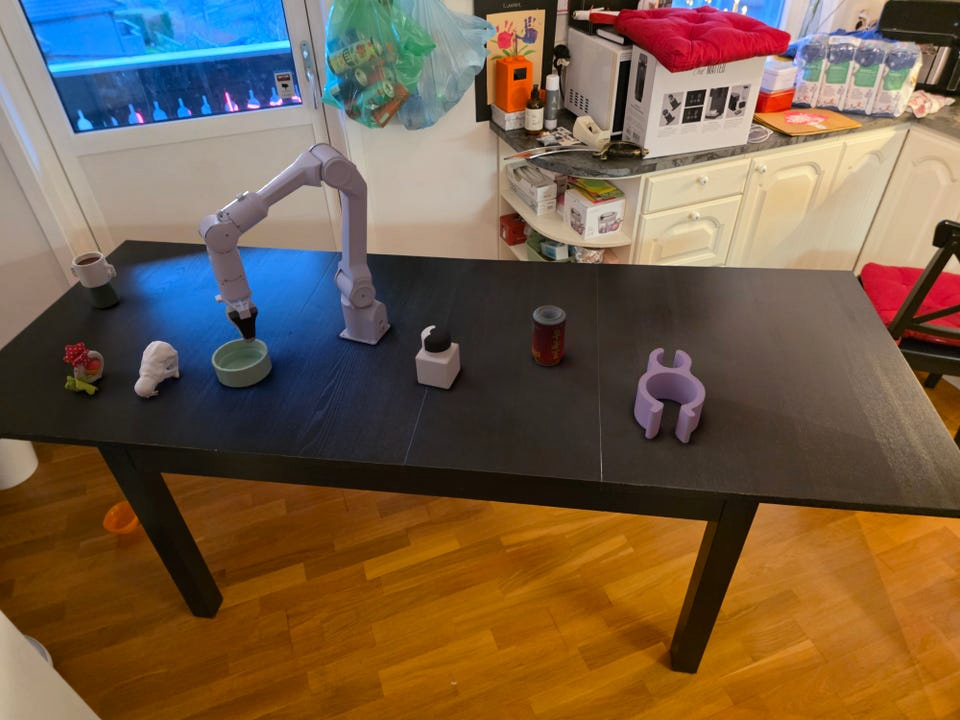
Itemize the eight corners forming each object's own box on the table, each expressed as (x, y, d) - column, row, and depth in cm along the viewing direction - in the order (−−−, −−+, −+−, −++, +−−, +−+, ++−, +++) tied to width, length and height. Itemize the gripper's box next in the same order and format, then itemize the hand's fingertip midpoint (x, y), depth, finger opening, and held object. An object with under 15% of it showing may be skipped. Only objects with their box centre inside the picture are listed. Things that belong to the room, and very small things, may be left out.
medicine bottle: (460, 369, 144) (458, 324, 136) (448, 390, 138) (445, 344, 131) (430, 363, 146) (426, 318, 138) (417, 383, 140) (412, 338, 133)
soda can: (547, 344, 150) (550, 299, 142) (570, 358, 146) (573, 313, 138) (524, 356, 147) (525, 311, 139) (546, 372, 142) (549, 326, 135)
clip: (635, 371, 142) (639, 345, 137) (695, 377, 140) (701, 351, 135) (633, 436, 126) (638, 410, 122) (700, 444, 124) (707, 418, 120)
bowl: (282, 361, 147) (278, 344, 144) (251, 394, 139) (245, 376, 136) (240, 351, 151) (234, 333, 148) (206, 382, 143) (200, 364, 139)
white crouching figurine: (174, 338, 141) (143, 377, 132) (188, 366, 146) (159, 406, 138) (147, 335, 142) (115, 374, 133) (162, 363, 148) (132, 403, 139)
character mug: (134, 295, 171) (116, 251, 163) (122, 311, 165) (102, 266, 157) (93, 295, 171) (73, 251, 163) (80, 311, 166) (58, 266, 158)
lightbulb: (257, 352, 139) (244, 309, 132) (230, 349, 140) (216, 306, 133) (270, 335, 143) (258, 292, 137) (244, 332, 144) (231, 290, 138)
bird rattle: (89, 383, 146) (57, 396, 138) (84, 335, 144) (51, 344, 135) (114, 386, 145) (84, 399, 137) (110, 338, 143) (78, 347, 134)
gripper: (202, 263, 135) (220, 318, 143) (216, 296, 125) (235, 353, 133) (237, 254, 137) (252, 308, 146) (254, 286, 127) (269, 342, 136)
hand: (246, 329), depth 139 cm, fingers closed on lightbulb, 6 cm apart
